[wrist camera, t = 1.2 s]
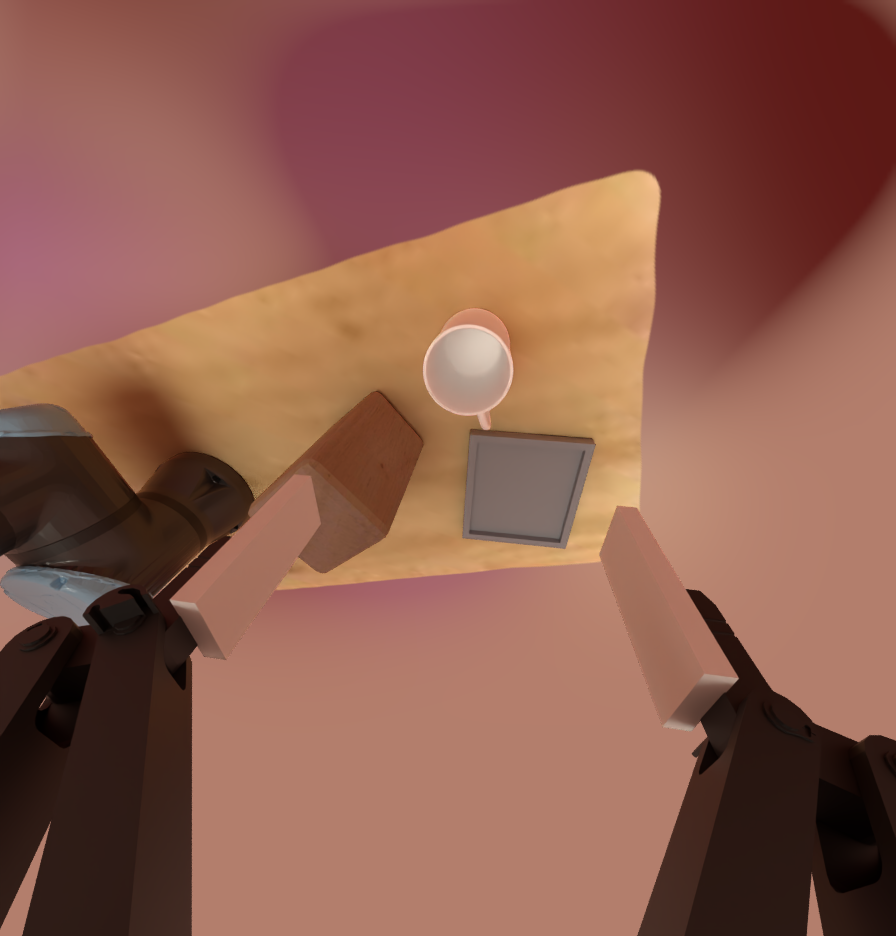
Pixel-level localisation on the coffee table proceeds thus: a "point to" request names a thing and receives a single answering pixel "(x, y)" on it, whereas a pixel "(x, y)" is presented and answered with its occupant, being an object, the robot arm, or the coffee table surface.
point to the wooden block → (354, 480)
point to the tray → (524, 486)
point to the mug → (470, 364)
